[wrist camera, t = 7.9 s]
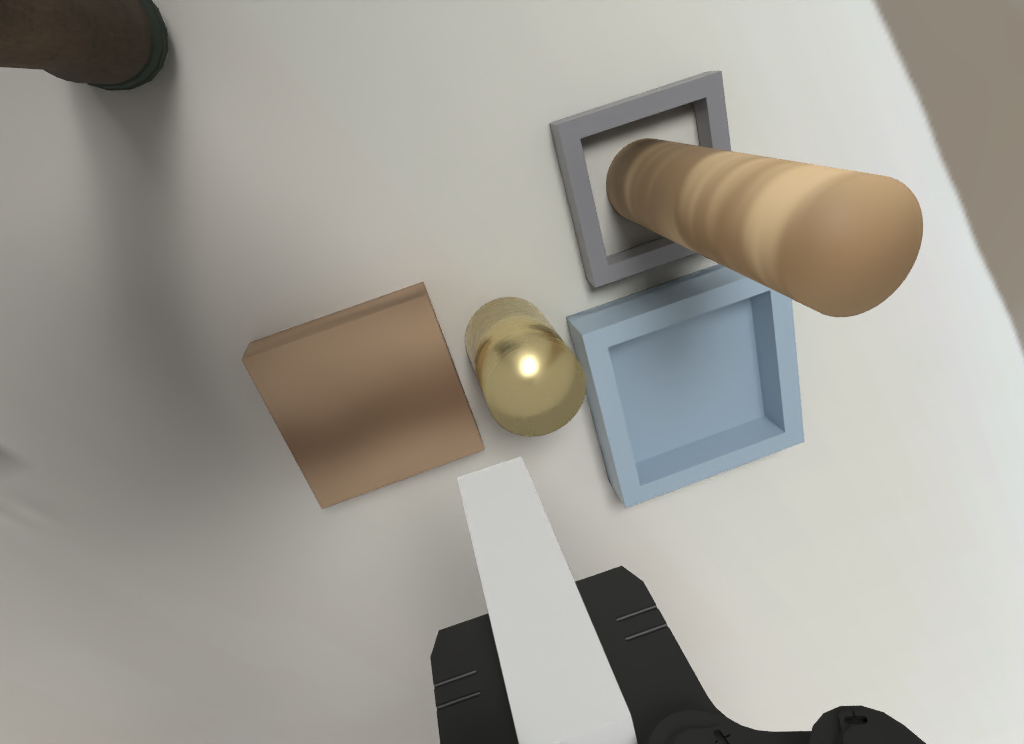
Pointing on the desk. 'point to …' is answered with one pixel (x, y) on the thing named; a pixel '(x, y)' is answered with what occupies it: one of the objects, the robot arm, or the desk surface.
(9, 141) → the desk surface
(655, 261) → the holder
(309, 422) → the flat cardboard box
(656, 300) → the tray
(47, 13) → the stick grenade
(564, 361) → the cylinder
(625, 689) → the robot arm
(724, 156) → the dowel
